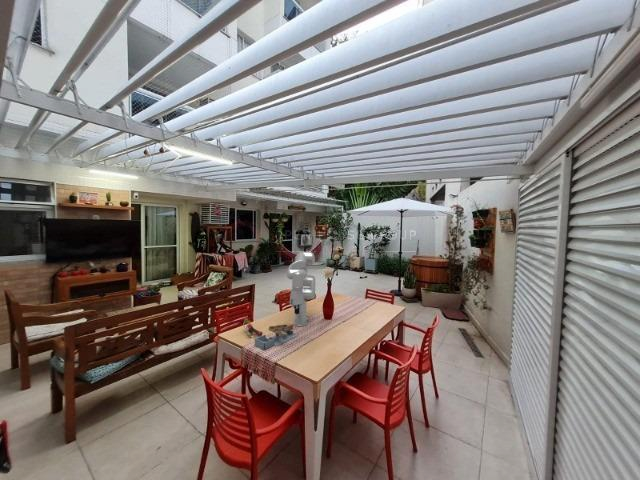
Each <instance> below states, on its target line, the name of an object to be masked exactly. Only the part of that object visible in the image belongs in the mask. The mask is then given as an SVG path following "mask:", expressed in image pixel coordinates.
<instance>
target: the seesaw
mask: <svg viewBox="0 0 640 480" xmlns="http://www.w3.org/2000/svg"><path fill="white" fill-rule="evenodd" d="M286 324H287V323H286ZM286 324H280V325H279V324H277V325H270V326H268V331H269V332H272V333H275V334H276V333H278V334H280V335H282V336H287V334H286V333H284V332H283V329H285V328H286V329H287V330H291V331H293V330H294V326H295V325H294V324H291V326H288V327H287V326H286Z"/></svg>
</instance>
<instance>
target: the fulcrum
mask: <svg viewBox="0 0 640 480" xmlns="http://www.w3.org/2000/svg"><path fill="white" fill-rule="evenodd" d="M282 332H284V333H286V334H287V336H282V335H280V334H278V333H276V332H275V335H274V336H272V337H268V339H270V340H272V339H275V346H274V347H277V346H280V345H282V344H284V343H286V342H289V341H291V340H292V339H295V338H297V337H298V335H297V334H295V333H294V331H293V330H287V329H286V328H285V329H283V331H282Z"/></svg>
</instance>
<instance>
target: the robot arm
mask: <svg viewBox="0 0 640 480" xmlns="http://www.w3.org/2000/svg"><path fill="white" fill-rule="evenodd" d="M315 259H316V258H315V254H314V253H313V252H312V251H299V252H298V253H297V254H296V255H295V257H294V262H292V263H291V264H290V265H289V266H288V269H287V272H286V273H287V274H286V276H287V279H289V280H292V281H291V291H290V294H289V295H290V296H289V305H290V307H291V308H293V309H294V320H293V322H292V325H293V326H296V327H305V326H307V325H308V323H309V322H308V320H309V319H310V316H307V302H306V300H313V299H315V296H316V277H315V276H314V275H312V274H311V275H309V274H308V268H307V267H306V266H307V265H308V266H310V265H311V266H312V265H315V262H316V260H315Z"/></svg>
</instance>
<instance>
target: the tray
mask: <svg viewBox="0 0 640 480" xmlns="http://www.w3.org/2000/svg"><path fill="white" fill-rule="evenodd" d="M254 346H255V347H256V348H258V349H261V350H263V351H266V349H267V350H269V349H270V348H273V347H276V346H275V339H272V340H270V339H269V337H267V335H266V334H262V336H257V337H254Z"/></svg>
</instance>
